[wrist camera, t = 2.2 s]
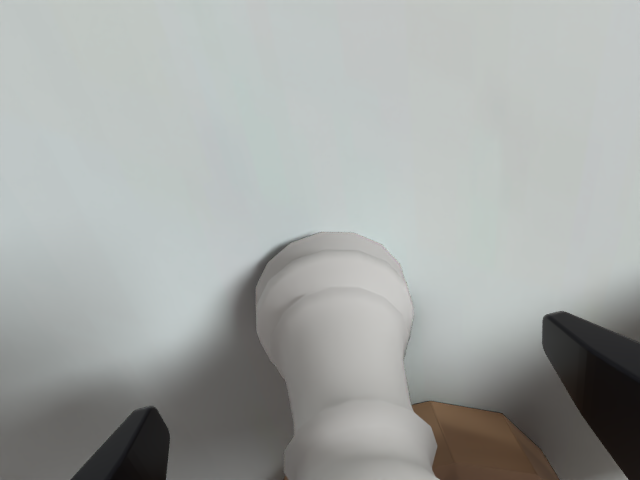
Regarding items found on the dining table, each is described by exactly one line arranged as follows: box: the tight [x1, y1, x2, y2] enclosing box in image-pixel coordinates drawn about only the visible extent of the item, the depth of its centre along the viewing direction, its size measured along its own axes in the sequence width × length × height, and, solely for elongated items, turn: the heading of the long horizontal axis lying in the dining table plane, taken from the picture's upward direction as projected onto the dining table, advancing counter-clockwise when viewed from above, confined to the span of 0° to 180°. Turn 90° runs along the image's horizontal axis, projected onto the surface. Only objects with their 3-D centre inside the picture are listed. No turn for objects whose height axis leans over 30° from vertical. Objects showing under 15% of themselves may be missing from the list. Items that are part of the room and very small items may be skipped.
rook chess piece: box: [255, 232, 440, 480], centre depth 9 cm, size 4×4×8 cm
